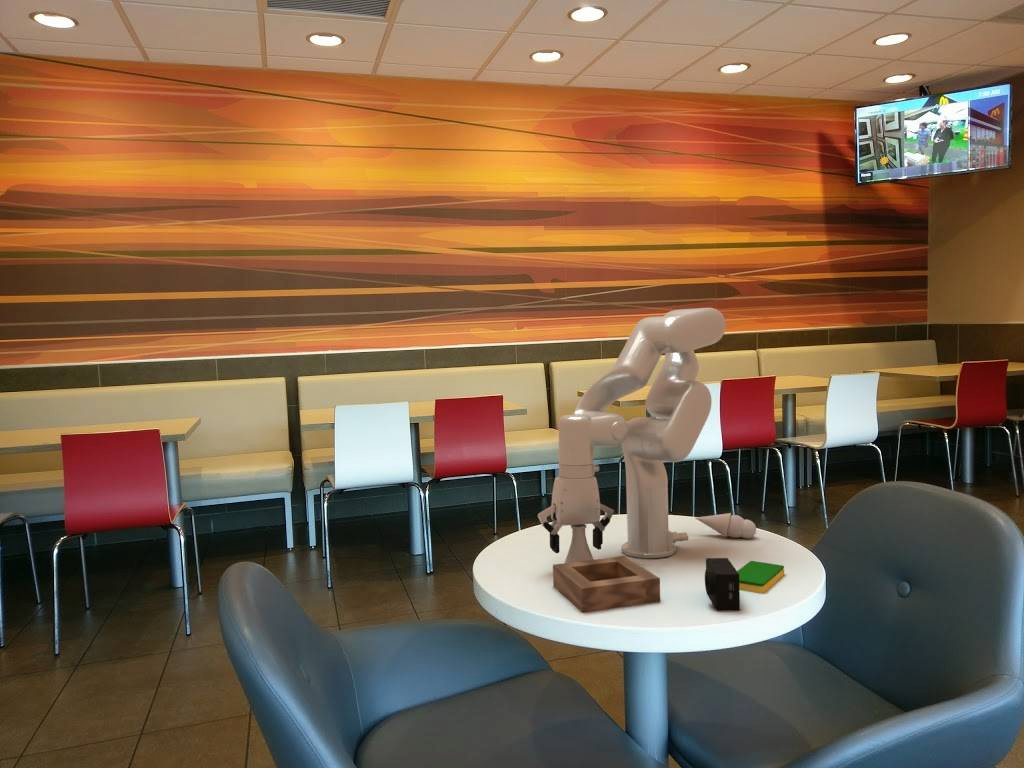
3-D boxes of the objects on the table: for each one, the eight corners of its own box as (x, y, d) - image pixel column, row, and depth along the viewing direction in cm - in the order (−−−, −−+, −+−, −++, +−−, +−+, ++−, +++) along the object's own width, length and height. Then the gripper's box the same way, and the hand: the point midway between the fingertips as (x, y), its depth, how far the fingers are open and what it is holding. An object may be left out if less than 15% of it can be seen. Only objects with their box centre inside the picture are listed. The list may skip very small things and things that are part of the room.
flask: (556, 570, 167) (555, 525, 166) (578, 563, 172) (577, 519, 171) (581, 577, 162) (579, 531, 161) (603, 569, 167) (602, 524, 166)
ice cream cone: (692, 533, 193) (753, 547, 188) (691, 523, 188) (754, 537, 183) (696, 512, 196) (757, 525, 191) (696, 501, 191) (758, 514, 186)
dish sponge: (727, 589, 152) (727, 577, 152) (750, 571, 163) (750, 560, 163) (763, 595, 148) (762, 583, 148) (784, 576, 159) (784, 565, 159)
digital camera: (700, 592, 150) (699, 557, 150) (728, 592, 150) (727, 557, 149) (709, 611, 140) (708, 573, 140) (739, 611, 140) (739, 573, 139)
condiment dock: (624, 576, 161) (624, 555, 161) (660, 601, 146) (659, 578, 146) (553, 586, 157) (552, 564, 156) (582, 612, 141) (581, 588, 141)
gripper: (606, 467, 171) (606, 542, 172) (532, 471, 167) (533, 548, 167) (620, 472, 164) (620, 551, 165) (543, 476, 159) (544, 557, 160)
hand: (576, 549), depth 166 cm, fingers open, 9 cm apart
